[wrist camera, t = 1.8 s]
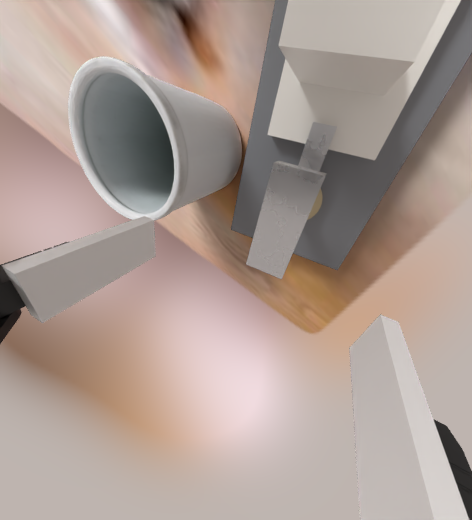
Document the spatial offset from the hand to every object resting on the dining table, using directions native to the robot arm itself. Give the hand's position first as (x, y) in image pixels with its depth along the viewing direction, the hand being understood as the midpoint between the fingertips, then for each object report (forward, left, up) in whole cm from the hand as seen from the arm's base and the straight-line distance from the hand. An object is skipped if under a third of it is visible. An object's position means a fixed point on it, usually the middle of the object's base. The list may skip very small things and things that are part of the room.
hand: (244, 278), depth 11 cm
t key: (-2, 0, -20) cm, 20 cm away
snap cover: (-13, 0, -20) cm, 24 cm away
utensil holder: (-2, -18, -25) cm, 31 cm away
